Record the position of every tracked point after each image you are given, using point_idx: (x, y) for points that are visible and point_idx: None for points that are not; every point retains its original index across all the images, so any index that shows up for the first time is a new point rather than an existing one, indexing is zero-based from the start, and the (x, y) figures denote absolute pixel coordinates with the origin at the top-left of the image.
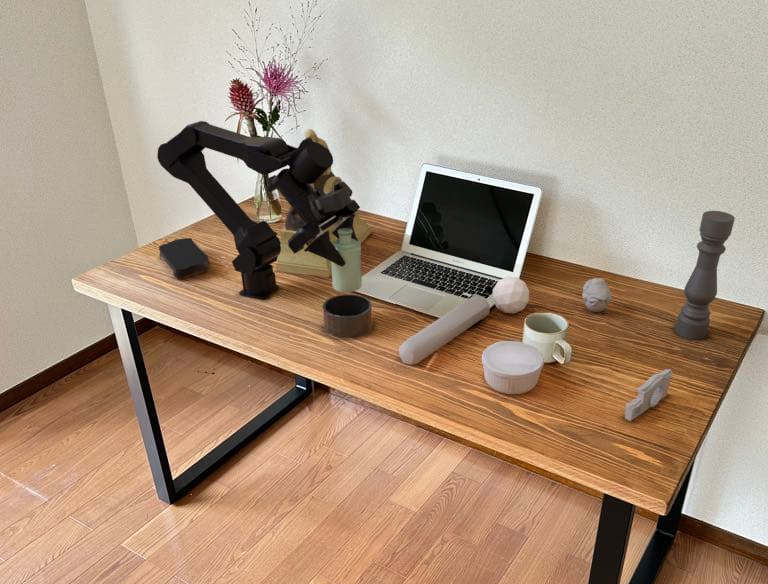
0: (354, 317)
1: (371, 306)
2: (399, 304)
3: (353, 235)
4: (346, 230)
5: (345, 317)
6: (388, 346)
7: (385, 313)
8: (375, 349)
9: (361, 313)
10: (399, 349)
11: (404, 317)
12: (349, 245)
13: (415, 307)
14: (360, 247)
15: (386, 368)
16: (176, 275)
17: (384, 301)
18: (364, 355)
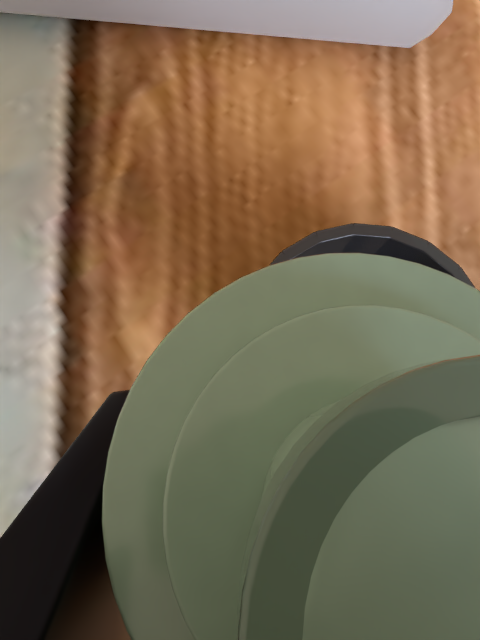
0: (432, 247)
1: (301, 239)
2: (53, 296)
3: (24, 599)
4: (470, 625)
5: (467, 277)
6: (357, 145)
7: (153, 299)
8: (402, 170)
9: (388, 236)
10: (452, 4)
11: (139, 217)
12: (443, 354)
13: (40, 227)
14: (247, 279)
15: (474, 72)
16: None
17: (64, 367)
18: (459, 178)
